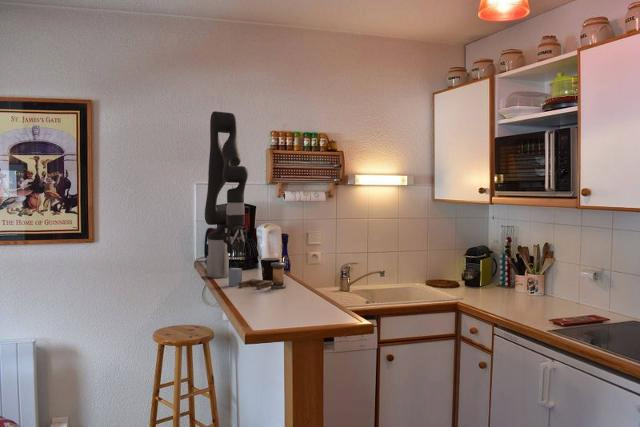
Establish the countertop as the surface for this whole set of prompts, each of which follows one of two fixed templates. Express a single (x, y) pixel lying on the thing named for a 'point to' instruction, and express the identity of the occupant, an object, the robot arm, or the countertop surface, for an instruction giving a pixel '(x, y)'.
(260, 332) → the countertop surface
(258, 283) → the u-shaped bracket
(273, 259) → the coffee mug
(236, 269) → the grey rectangular block
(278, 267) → the bobbin
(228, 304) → the countertop surface
